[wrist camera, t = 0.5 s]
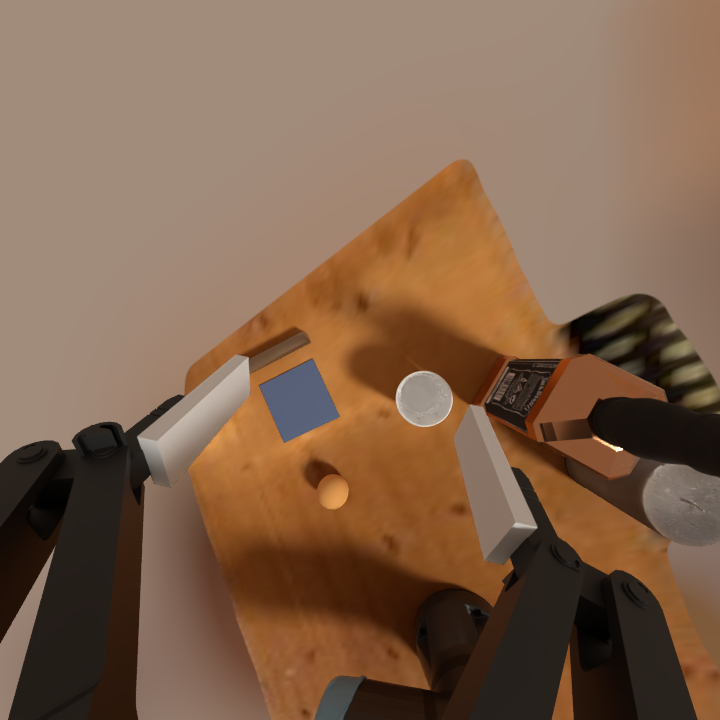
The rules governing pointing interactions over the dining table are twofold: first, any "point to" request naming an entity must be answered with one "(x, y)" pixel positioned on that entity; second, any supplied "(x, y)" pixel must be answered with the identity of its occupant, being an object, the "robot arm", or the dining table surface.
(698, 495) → the pillar candle
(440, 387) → the white cup
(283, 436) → the navy mark
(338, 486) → the ball
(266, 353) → the brown wooden bar
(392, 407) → the dining table surface
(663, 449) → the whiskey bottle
